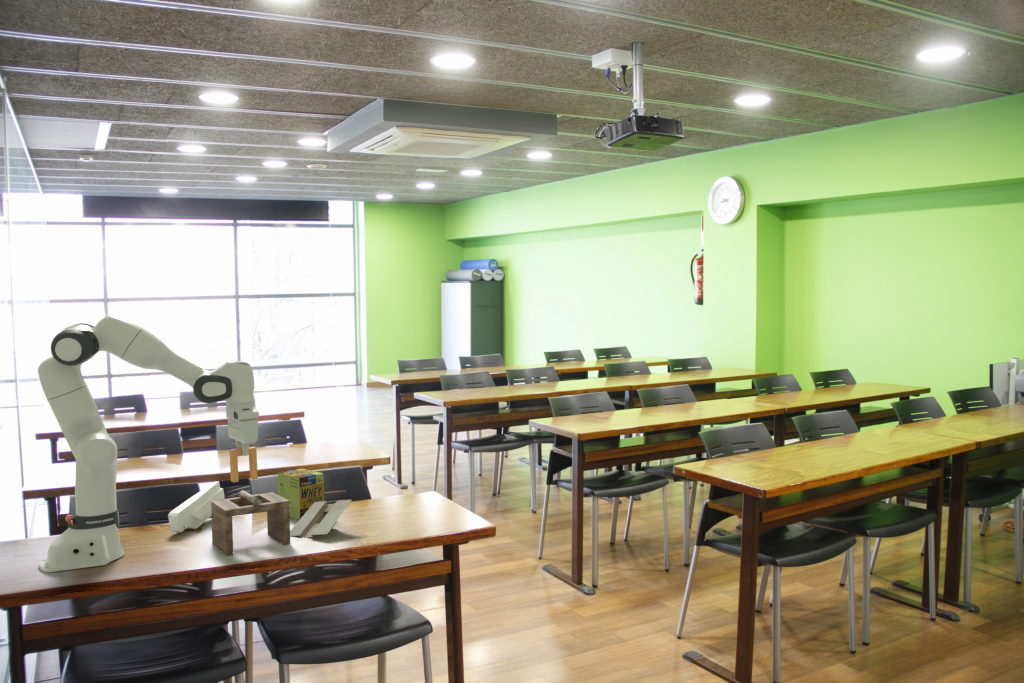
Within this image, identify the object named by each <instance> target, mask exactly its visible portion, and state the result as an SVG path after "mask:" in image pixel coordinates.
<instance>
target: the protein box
mask: <svg viewBox="0 0 1024 683" xmlns="http://www.w3.org/2000/svg"><path fill="white" fill-rule="evenodd" d="M324 480H325V479H324V473H323V472H319V471H314V470H309V469H305V468H299V469H292V470H291V469H290V470H285V471H280V472H279V471H278V472H277V492H278V494H277V495H279V496H281V497H283V498H285V499H287V500H289V511H290V518H291V519H295V520H298V521H299V520H300V519H301V518H302V517H303V515H304V514H305V513H306V512H307V510H308V509H309V508H310V507H311V506H312V505H313V504H314V502H323V501H325V486H324V485H325V483H324Z"/></svg>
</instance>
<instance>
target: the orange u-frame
mask: <svg viewBox="0 0 1024 683" xmlns="http://www.w3.org/2000/svg"><path fill="white" fill-rule="evenodd" d="M241 450H242V448H238V449H237V448H233V449H232V448H230V449H229V451H228V453H229V470H230V471H229V473H230V474H229V475H230V482H232V483H238V482H239V481H240V480H239V462H238V461H239V460H238V457H244V456H243V455H242V452H241ZM248 453H249V454H248V455H247V456H248V464H249V465H248V466H249V468H248V469H249V478H250V479H251V480H257V479H258V478H259V477H258V457H257V456H258V454H257V447H256V446H249V450H248Z"/></svg>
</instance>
